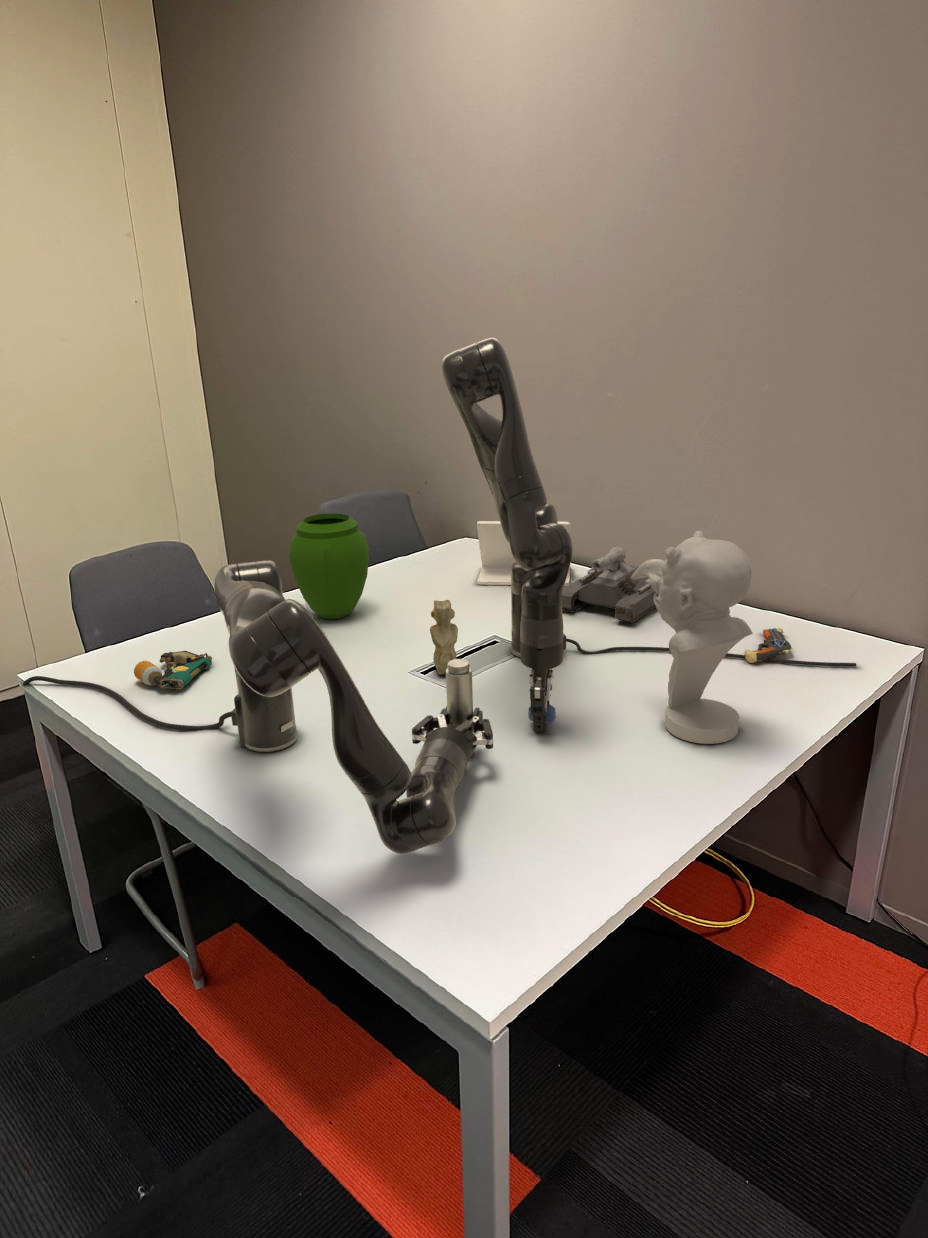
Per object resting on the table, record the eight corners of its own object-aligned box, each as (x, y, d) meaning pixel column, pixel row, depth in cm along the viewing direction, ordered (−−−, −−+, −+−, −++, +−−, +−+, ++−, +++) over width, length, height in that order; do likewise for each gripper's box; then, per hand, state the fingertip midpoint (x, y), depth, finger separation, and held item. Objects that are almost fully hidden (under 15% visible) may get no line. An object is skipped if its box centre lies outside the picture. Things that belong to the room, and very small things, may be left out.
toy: (603, 584, 229) (605, 530, 224) (673, 597, 218) (677, 540, 213) (555, 612, 210) (556, 553, 205) (630, 627, 199) (633, 566, 194)
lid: (557, 722, 153) (557, 714, 152) (530, 724, 152) (530, 716, 152) (552, 710, 157) (552, 702, 157) (526, 712, 157) (526, 704, 156)
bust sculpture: (671, 682, 170) (682, 511, 158) (763, 732, 151) (784, 540, 138) (606, 701, 164) (613, 523, 151) (694, 755, 144) (709, 555, 131)
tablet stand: (569, 585, 229) (570, 524, 223) (476, 584, 232) (475, 523, 226) (570, 566, 246) (571, 508, 240) (484, 564, 249) (483, 507, 243)
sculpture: (458, 662, 183) (456, 596, 178) (460, 676, 176) (457, 608, 171) (431, 663, 183) (428, 597, 177) (431, 677, 176) (428, 609, 171)
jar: (445, 757, 146) (441, 666, 140) (454, 745, 150) (451, 656, 144) (468, 761, 144) (465, 669, 138) (477, 749, 148) (475, 659, 142)
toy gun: (746, 653, 177) (797, 650, 175) (736, 627, 195) (782, 623, 193) (747, 666, 178) (798, 663, 176) (736, 638, 195) (782, 635, 193)
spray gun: (177, 659, 191) (231, 671, 185) (120, 684, 176) (176, 698, 171) (176, 641, 190) (230, 653, 184) (118, 665, 175) (174, 678, 169)
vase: (389, 608, 216) (383, 514, 208) (339, 633, 201) (330, 533, 192) (330, 596, 226) (322, 506, 218) (278, 619, 211) (267, 523, 202)
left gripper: (487, 742, 129) (504, 694, 145) (396, 736, 132) (422, 689, 147) (488, 785, 132) (504, 733, 147) (399, 779, 134) (424, 728, 150)
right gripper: (525, 622, 157) (526, 705, 163) (514, 652, 144) (515, 741, 150) (566, 623, 155) (565, 708, 161) (559, 654, 142) (558, 744, 148)
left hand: (463, 711), depth 147 cm, fingers closed on jar, 4 cm apart
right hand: (541, 723), depth 155 cm, fingers closed on lid, 4 cm apart
